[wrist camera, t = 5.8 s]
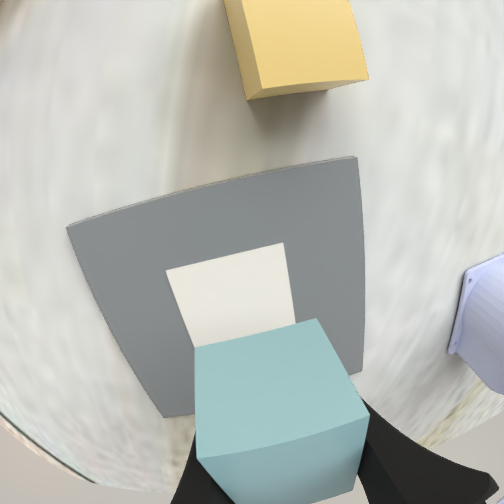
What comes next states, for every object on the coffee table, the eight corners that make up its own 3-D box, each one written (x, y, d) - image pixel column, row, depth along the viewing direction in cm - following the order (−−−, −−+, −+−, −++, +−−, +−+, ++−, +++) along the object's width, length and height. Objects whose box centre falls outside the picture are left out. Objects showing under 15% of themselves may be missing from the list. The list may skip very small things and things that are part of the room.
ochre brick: (327, 89, 14) (369, 79, 10) (246, 100, 14) (262, 88, 10) (301, -11, 11) (332, -47, 7) (221, -5, 11) (228, -47, 7)
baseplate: (359, 365, 22) (362, 371, 21) (164, 412, 21) (163, 418, 20) (352, 156, 15) (358, 157, 15) (70, 224, 14) (65, 228, 14)
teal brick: (322, 416, 13) (352, 490, 9) (235, 437, 13) (248, 516, 9) (316, 317, 10) (369, 415, 6) (194, 347, 10) (196, 458, 6)
